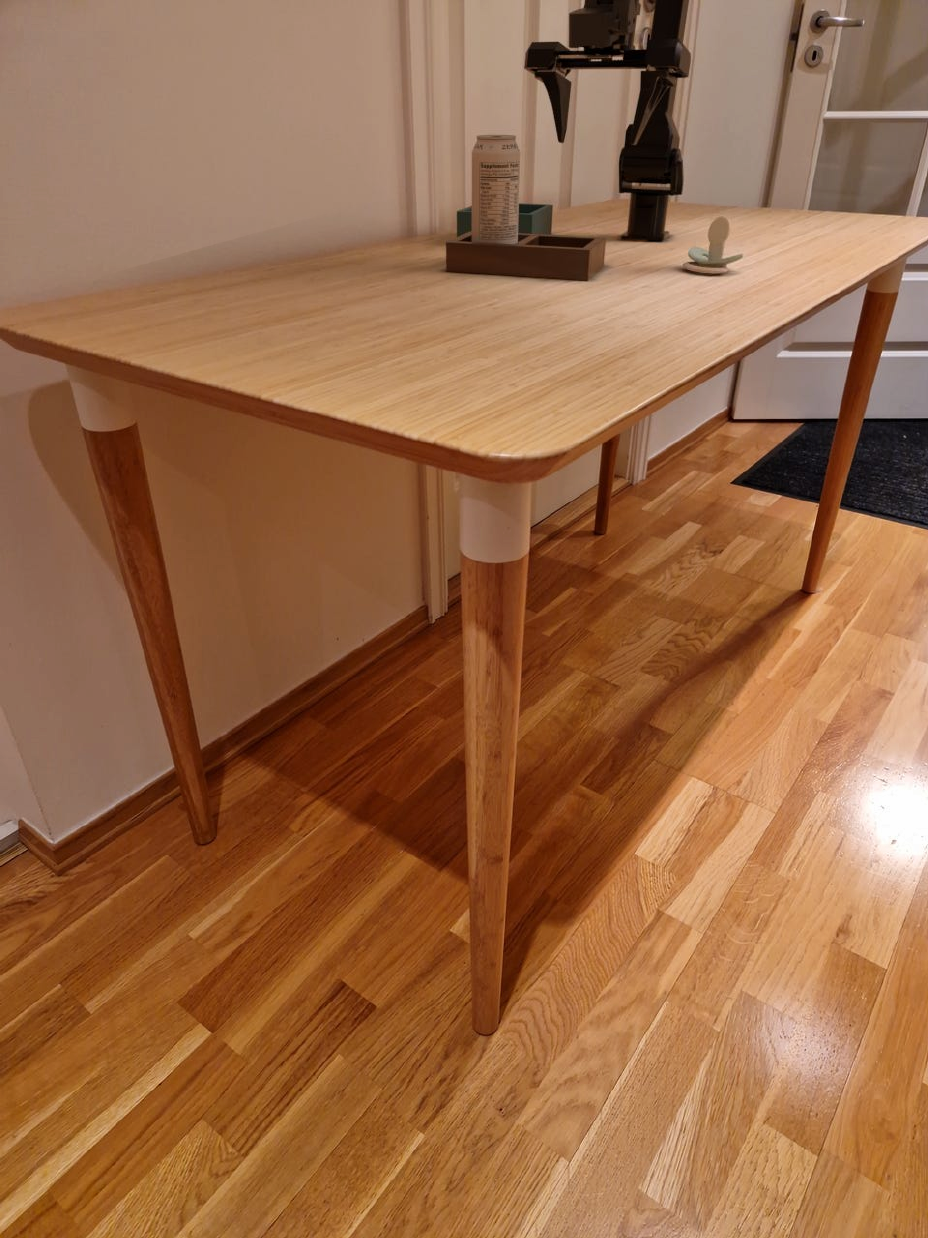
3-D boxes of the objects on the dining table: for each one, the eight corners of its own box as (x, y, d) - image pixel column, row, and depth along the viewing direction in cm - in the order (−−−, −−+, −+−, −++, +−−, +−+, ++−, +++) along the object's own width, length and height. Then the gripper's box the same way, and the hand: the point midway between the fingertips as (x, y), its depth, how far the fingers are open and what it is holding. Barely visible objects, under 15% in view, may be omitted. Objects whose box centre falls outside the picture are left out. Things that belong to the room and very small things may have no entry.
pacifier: (716, 279, 104) (746, 271, 107) (724, 224, 100) (754, 217, 103) (670, 270, 109) (700, 263, 112) (676, 217, 105) (706, 211, 108)
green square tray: (481, 232, 135) (481, 201, 132) (551, 236, 131) (552, 204, 129) (456, 244, 126) (456, 210, 123) (531, 248, 122) (532, 214, 120)
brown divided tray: (471, 258, 116) (471, 230, 114) (604, 266, 111) (606, 237, 109) (446, 271, 108) (445, 241, 106) (587, 280, 103) (589, 249, 101)
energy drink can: (514, 261, 113) (517, 133, 105) (519, 270, 108) (523, 136, 100) (470, 262, 113) (470, 134, 105) (473, 271, 108) (473, 137, 100)
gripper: (513, -32, 92) (500, 131, 98) (681, -41, 85) (656, 134, 91) (548, -2, 101) (534, 145, 108) (702, -8, 95) (678, 149, 101)
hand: (596, 143), depth 102 cm, fingers open, 9 cm apart
